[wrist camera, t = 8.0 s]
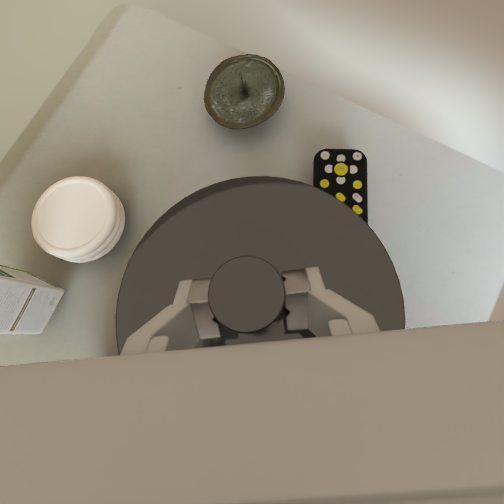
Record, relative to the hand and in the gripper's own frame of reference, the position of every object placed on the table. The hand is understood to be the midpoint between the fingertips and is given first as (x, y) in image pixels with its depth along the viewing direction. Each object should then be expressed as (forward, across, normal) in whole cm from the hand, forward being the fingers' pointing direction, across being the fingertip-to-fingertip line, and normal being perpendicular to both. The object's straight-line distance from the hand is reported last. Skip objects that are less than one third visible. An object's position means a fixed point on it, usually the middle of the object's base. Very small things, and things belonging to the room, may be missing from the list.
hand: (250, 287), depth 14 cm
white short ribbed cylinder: (+28, +21, +8) cm, 35 cm away
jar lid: (+2, 0, +2) cm, 3 cm away
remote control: (+27, -10, +9) cm, 30 cm away
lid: (+38, 0, -3) cm, 38 cm away
